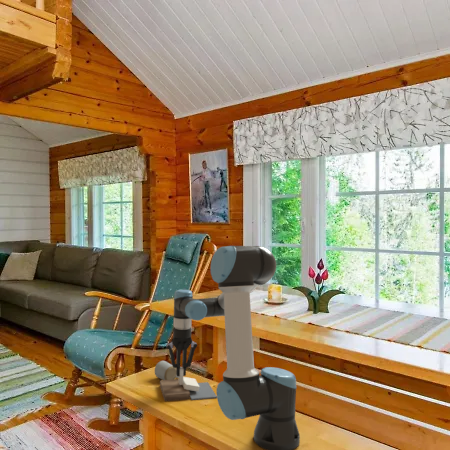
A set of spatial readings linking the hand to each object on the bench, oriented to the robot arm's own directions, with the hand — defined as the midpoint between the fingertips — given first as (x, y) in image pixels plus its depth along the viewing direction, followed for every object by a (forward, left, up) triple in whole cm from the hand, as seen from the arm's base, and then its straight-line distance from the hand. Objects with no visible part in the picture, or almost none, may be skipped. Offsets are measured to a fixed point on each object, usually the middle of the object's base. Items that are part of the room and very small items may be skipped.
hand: (180, 383), depth 185 cm
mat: (-1, -8, -4) cm, 9 cm away
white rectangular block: (0, -4, -1) cm, 4 cm away
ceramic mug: (+16, +3, -4) cm, 17 cm away
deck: (0, +3, -4) cm, 4 cm away
